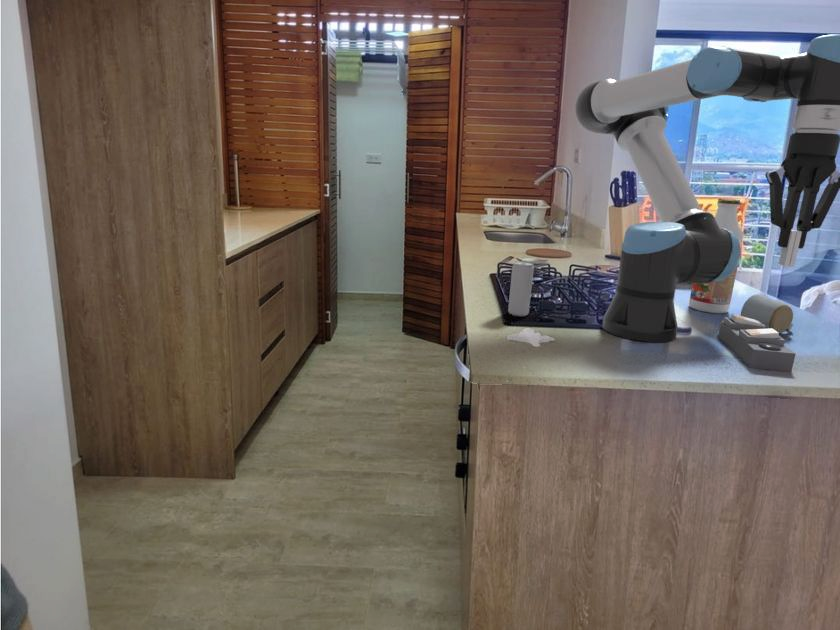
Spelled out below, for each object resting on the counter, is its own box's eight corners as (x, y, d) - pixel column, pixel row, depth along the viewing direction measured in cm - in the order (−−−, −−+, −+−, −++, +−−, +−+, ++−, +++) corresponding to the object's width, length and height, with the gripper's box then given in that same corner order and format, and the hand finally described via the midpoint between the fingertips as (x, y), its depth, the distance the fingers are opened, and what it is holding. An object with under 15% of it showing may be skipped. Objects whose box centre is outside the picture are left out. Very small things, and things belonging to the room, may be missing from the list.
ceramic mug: (769, 336, 128) (777, 303, 126) (736, 326, 135) (744, 294, 133) (801, 334, 132) (809, 301, 130) (768, 324, 139) (775, 293, 137)
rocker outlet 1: (735, 322, 120) (737, 317, 120) (730, 318, 123) (732, 313, 123) (758, 328, 119) (761, 323, 119) (753, 324, 122) (755, 319, 122)
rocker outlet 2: (750, 339, 111) (751, 334, 111) (745, 334, 114) (745, 329, 114) (778, 337, 110) (778, 332, 110) (772, 333, 113) (772, 327, 113)
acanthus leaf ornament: (506, 342, 116) (506, 333, 116) (521, 335, 122) (522, 326, 121) (540, 350, 112) (541, 341, 111) (555, 342, 117) (556, 333, 117)
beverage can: (505, 314, 134) (510, 263, 131) (510, 310, 138) (515, 260, 135) (526, 318, 132) (531, 266, 129) (530, 313, 137) (536, 262, 133)
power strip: (750, 367, 107) (755, 343, 106) (717, 336, 126) (721, 315, 125) (791, 371, 106) (797, 347, 105) (752, 339, 125) (756, 319, 124)
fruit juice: (728, 316, 144) (752, 201, 136) (687, 310, 148) (707, 198, 140) (728, 308, 152) (750, 199, 145) (689, 302, 156) (708, 196, 149)
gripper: (783, 129, 99) (755, 265, 106) (869, 133, 97) (834, 272, 103) (767, 131, 106) (741, 259, 113) (846, 135, 104) (815, 264, 111)
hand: (786, 265), depth 108 cm, fingers closed
